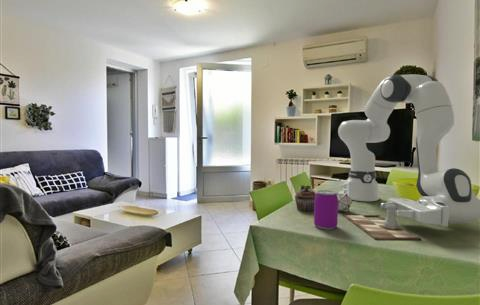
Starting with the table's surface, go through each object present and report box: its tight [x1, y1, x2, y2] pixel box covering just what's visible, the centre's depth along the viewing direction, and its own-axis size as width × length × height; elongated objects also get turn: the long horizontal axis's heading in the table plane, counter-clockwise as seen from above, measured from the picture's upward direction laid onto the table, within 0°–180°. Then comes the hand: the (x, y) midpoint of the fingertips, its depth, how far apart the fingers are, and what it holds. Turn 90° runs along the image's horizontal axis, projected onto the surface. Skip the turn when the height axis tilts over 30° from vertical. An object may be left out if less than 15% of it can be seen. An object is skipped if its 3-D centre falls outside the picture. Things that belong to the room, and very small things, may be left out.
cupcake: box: [294, 185, 317, 213], centre depth 123 cm, size 10×10×10 cm
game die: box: [336, 192, 356, 213], centre depth 120 cm, size 9×8×10 cm
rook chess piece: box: [383, 203, 399, 229], centre depth 98 cm, size 4×4×8 cm
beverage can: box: [313, 189, 339, 231], centre depth 99 cm, size 8×8×12 cm
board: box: [342, 214, 422, 241], centre depth 101 cm, size 26×14×1 cm, turn 1°
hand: (388, 209), depth 97 cm, fingers open, 8 cm apart
